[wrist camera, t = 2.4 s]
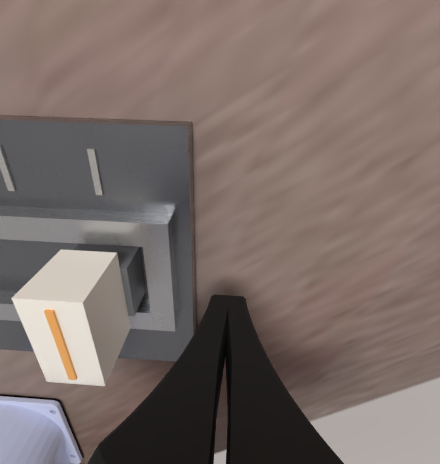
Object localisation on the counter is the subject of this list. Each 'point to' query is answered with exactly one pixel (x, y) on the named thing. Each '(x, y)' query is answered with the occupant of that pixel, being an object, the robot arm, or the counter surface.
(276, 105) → the counter surface
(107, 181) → the console
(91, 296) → the fader tab
